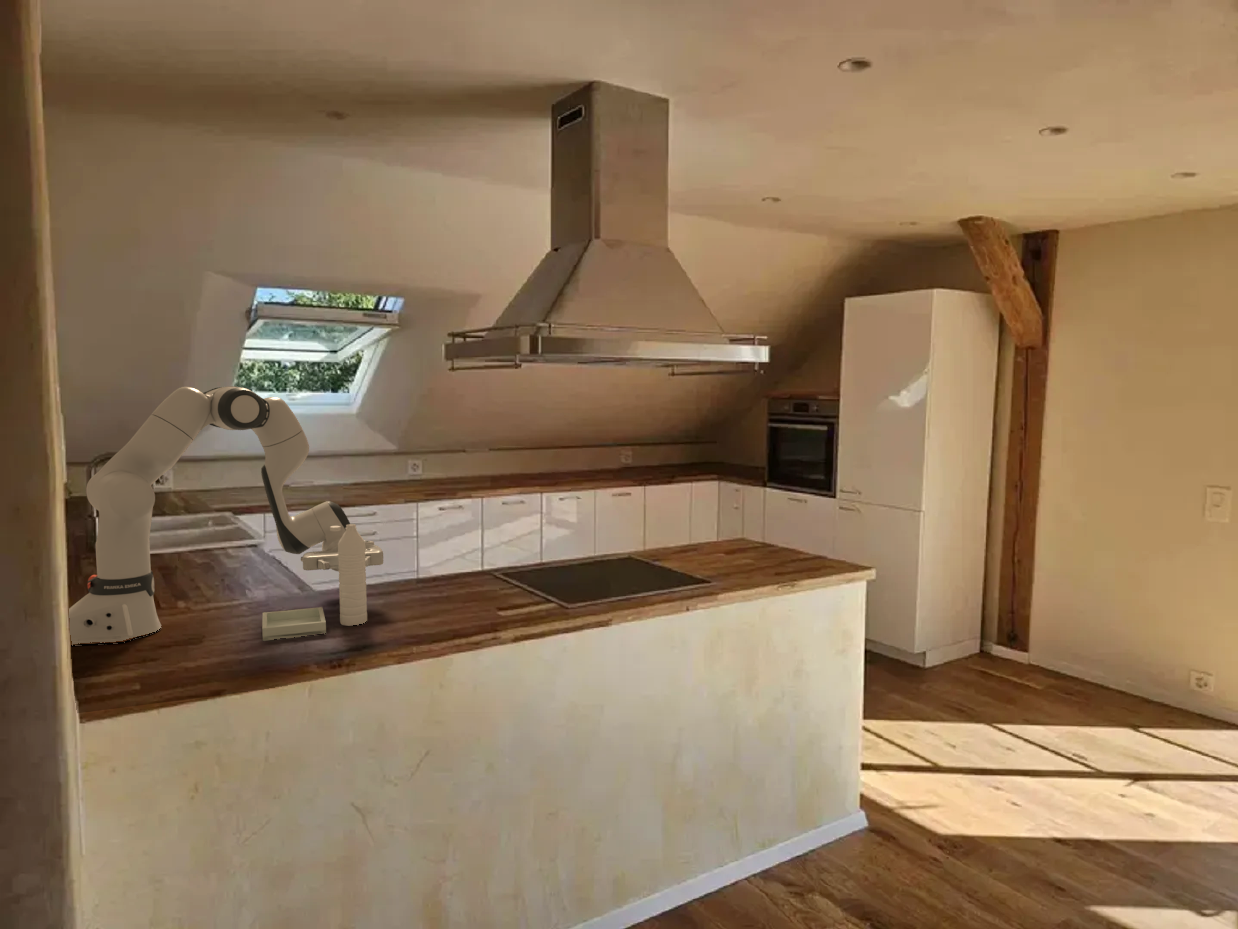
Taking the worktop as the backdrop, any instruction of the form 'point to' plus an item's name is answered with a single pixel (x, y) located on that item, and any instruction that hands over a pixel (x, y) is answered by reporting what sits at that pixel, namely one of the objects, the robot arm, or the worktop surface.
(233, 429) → the robot arm
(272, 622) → the sage tray
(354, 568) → the water bottle
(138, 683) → the worktop surface
